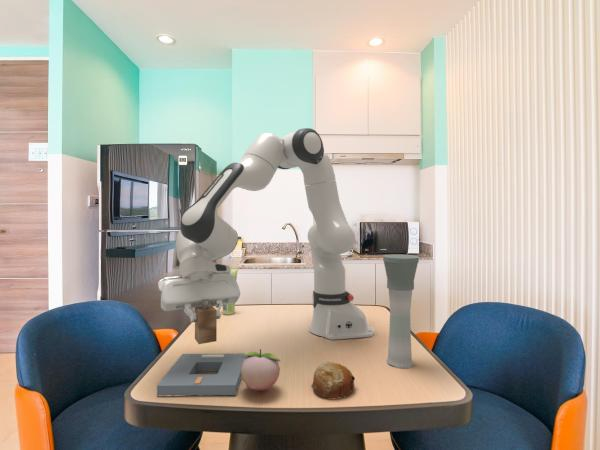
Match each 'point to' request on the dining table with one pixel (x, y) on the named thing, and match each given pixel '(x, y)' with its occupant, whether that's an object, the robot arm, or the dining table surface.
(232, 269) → the tube
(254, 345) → the dining table surface
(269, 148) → the robot arm
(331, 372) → the bread roll
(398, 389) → the dining table surface
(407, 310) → the container
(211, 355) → the socket plate
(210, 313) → the wooden peg with knob
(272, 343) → the dining table surface
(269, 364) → the decorative fruit
